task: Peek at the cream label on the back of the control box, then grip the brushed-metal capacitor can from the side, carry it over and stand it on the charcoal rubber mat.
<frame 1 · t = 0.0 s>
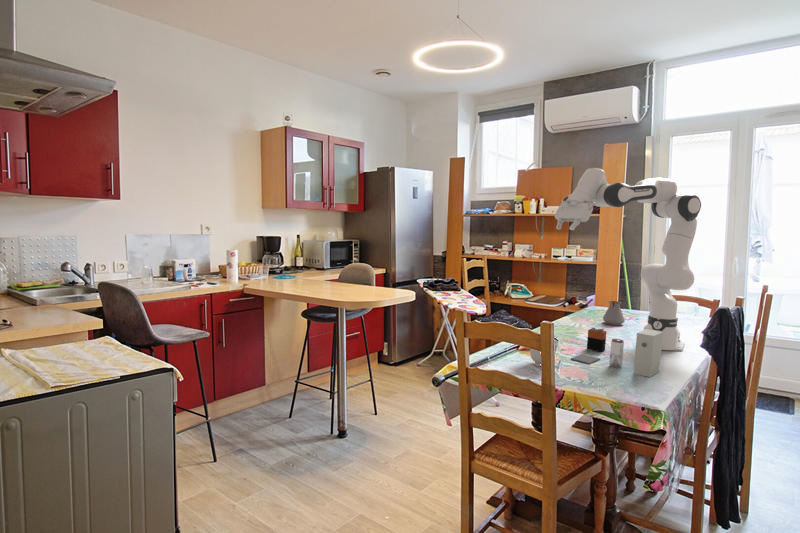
hand: (564, 229, 201), 54 cm above the table, tool tilted 30°, fingers open, 8 cm apart
mat: (585, 359, 196), on the table
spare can: (615, 366, 188), on the table
control box: (646, 372, 181), on the table
coffee pot: (612, 326, 263), on the table
teacup: (541, 364, 188), on the table
battery: (595, 350, 212), on the table
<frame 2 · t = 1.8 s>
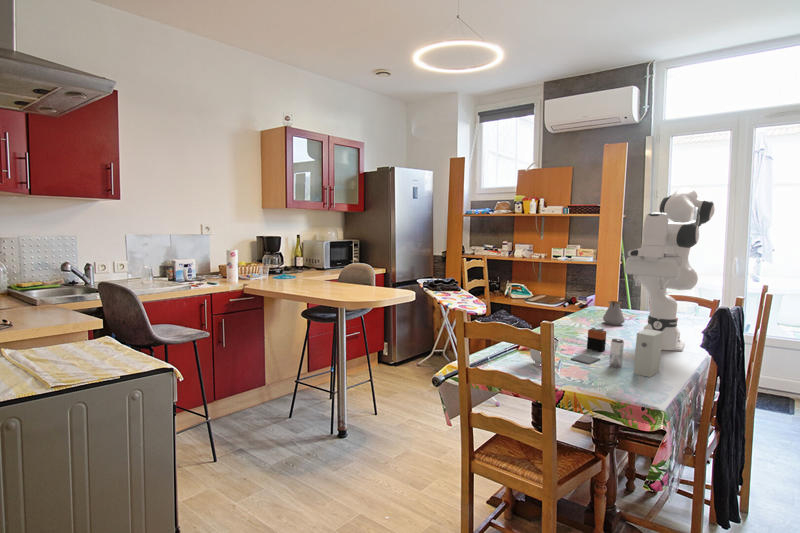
hand: (650, 287, 185), 32 cm above the table, tool pointing down, fingers open, 8 cm apart
nothing on the table moved.
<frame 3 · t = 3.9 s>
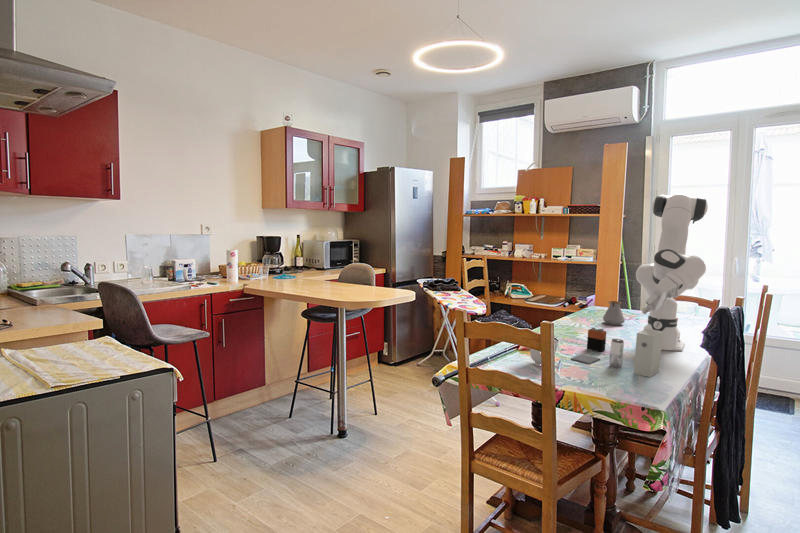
hand: (645, 307, 185), 24 cm above the table, tool tilted 50°, fingers open, 8 cm apart
nothing on the table moved.
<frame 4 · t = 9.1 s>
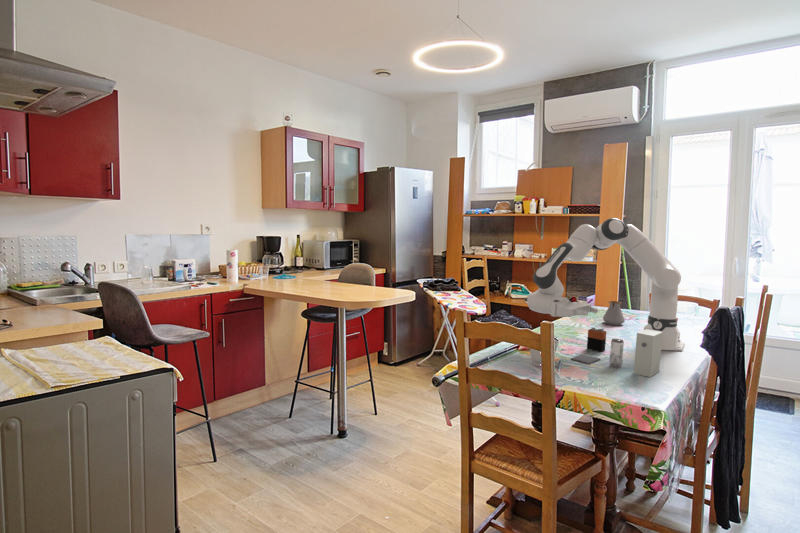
hand: (592, 312, 196), 20 cm above the table, tool horizontal, fingers open, 8 cm apart
nothing on the table moved.
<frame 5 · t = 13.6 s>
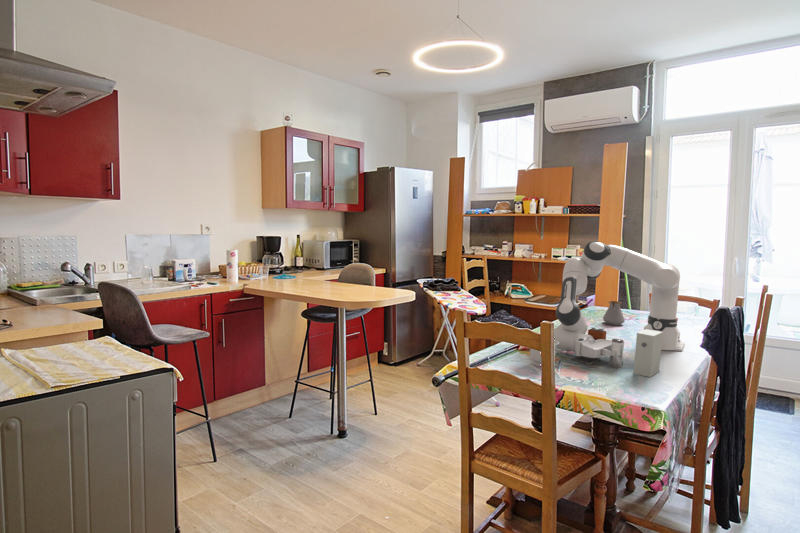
hand: (619, 352, 186), 6 cm above the table, tool horizontal, fingers closed on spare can, 5 cm apart
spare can: (615, 366, 188), on the table, touching gripper
everything else where it was.
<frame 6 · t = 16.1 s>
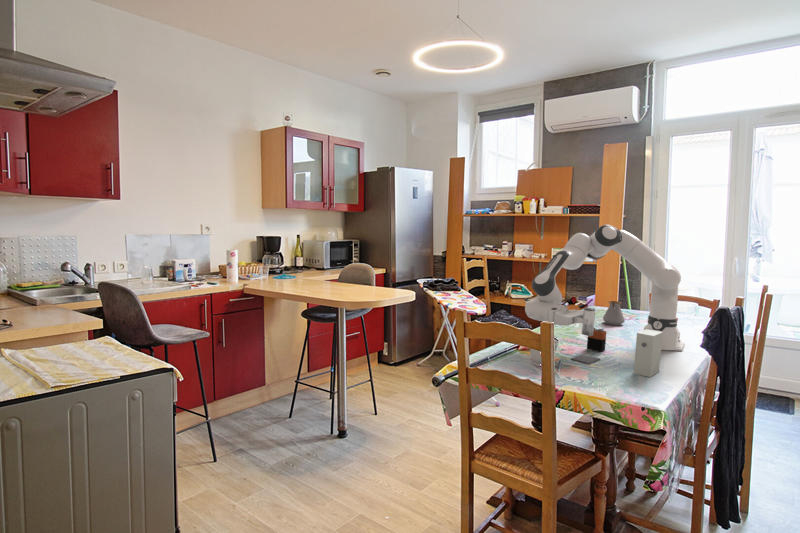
hand: (590, 320, 193), 17 cm above the table, tool horizontal, fingers closed on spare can, 5 cm apart
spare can: (587, 334, 195), point 11 cm above the table, touching gripper
everything else where it was.
when the fingers open (7 cm above the table, at t = 18.7 s): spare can stays where it is, resting on mat.
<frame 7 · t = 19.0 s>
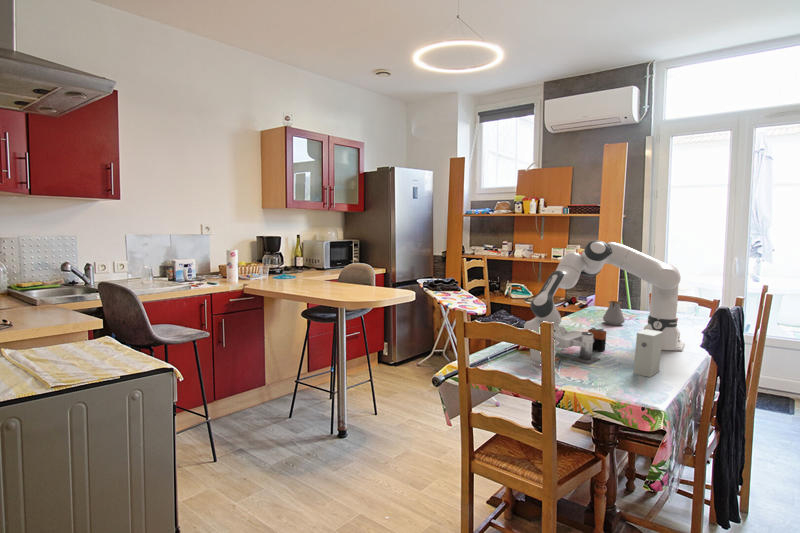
hand: (588, 342, 194), 7 cm above the table, tool horizontal, fingers open, 7 cm apart
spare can: (585, 358, 196), point 1 cm above the table, touching mat
everything else where it was.
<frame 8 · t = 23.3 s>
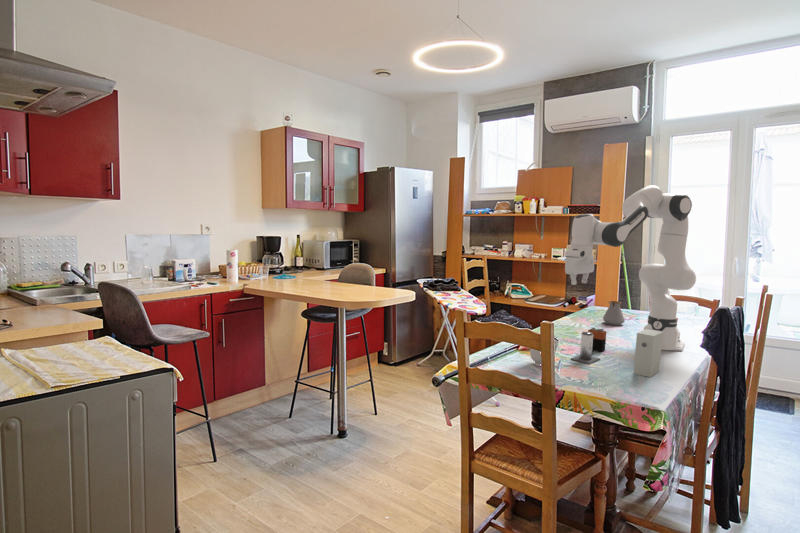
hand: (579, 283, 200), 31 cm above the table, tool pointing down, fingers open, 8 cm apart
nothing on the table moved.
at the end: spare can inside the target area on the mat (0.0 cm from its centre), point 0.6 cm above the mat's base; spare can tilted 0°; the gripper is holding nothing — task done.
